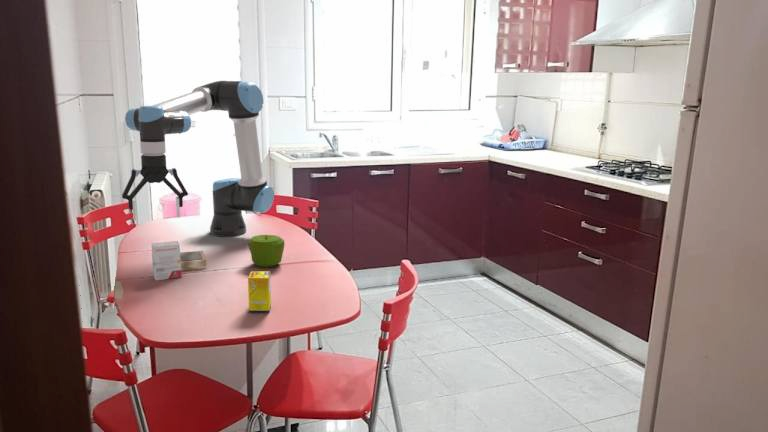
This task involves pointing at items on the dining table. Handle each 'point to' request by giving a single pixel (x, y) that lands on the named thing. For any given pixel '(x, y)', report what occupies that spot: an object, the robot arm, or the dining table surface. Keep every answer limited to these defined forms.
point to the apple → (266, 250)
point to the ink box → (166, 260)
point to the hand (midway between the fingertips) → (156, 218)
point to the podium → (192, 260)
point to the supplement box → (259, 291)
